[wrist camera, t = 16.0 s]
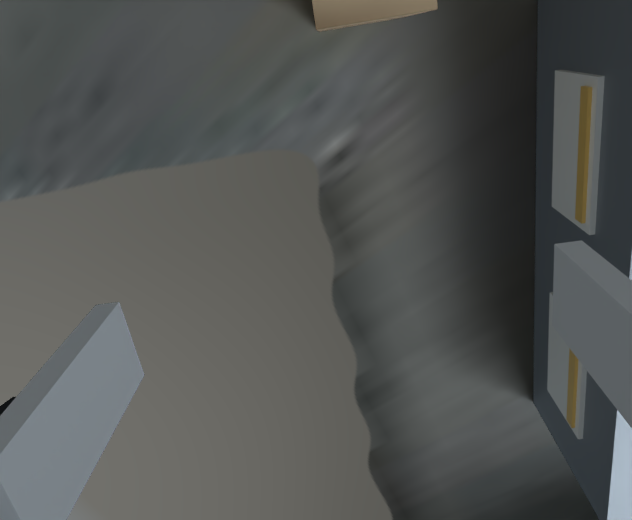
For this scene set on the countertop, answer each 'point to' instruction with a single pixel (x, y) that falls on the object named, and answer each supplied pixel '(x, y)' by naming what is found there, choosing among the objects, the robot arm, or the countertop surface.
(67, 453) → the robot arm
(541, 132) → the panel
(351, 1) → the oak block
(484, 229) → the countertop surface
